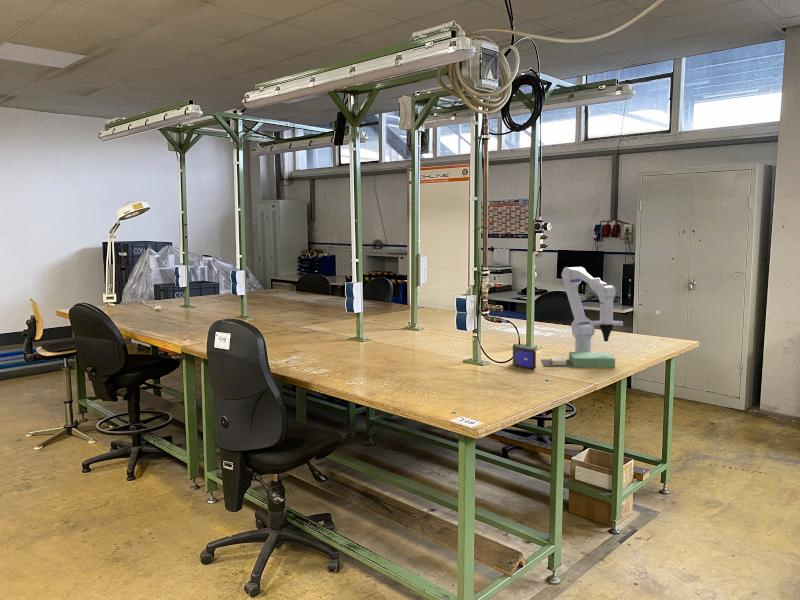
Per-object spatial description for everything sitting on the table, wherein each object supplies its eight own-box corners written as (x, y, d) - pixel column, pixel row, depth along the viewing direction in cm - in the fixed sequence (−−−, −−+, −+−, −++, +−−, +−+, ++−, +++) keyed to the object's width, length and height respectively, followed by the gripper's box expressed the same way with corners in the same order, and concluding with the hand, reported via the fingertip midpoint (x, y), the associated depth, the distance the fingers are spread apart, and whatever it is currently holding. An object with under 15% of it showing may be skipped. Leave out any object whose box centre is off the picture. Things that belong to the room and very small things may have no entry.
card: (563, 356, 287) (563, 360, 287) (550, 356, 288) (550, 360, 288) (566, 360, 278) (566, 365, 278) (552, 360, 279) (552, 364, 279)
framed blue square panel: (507, 364, 284) (507, 344, 283) (515, 363, 286) (515, 343, 285) (527, 371, 269) (528, 350, 268) (536, 370, 271) (536, 349, 270)
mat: (541, 359, 291) (541, 359, 291) (569, 360, 289) (569, 359, 289) (543, 366, 277) (543, 365, 277) (573, 366, 276) (573, 366, 276)
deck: (569, 360, 289) (569, 351, 289) (608, 360, 287) (608, 352, 286) (573, 366, 276) (573, 358, 275) (614, 367, 273) (615, 358, 273)
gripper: (591, 313, 279) (591, 342, 280) (624, 313, 277) (624, 342, 278) (589, 311, 286) (588, 339, 287) (621, 311, 284) (620, 339, 285)
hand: (605, 341), depth 283 cm, fingers closed
